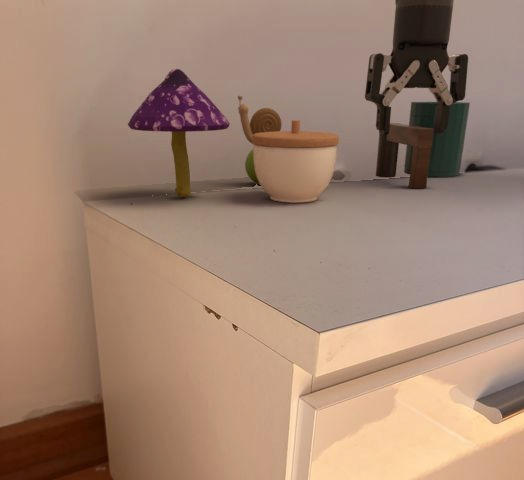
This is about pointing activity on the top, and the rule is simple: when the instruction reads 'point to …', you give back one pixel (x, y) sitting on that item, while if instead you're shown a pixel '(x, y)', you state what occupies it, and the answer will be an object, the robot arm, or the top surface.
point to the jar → (440, 138)
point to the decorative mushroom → (178, 119)
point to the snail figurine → (257, 130)
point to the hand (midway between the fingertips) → (411, 133)
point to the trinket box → (294, 163)
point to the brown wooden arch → (420, 156)
